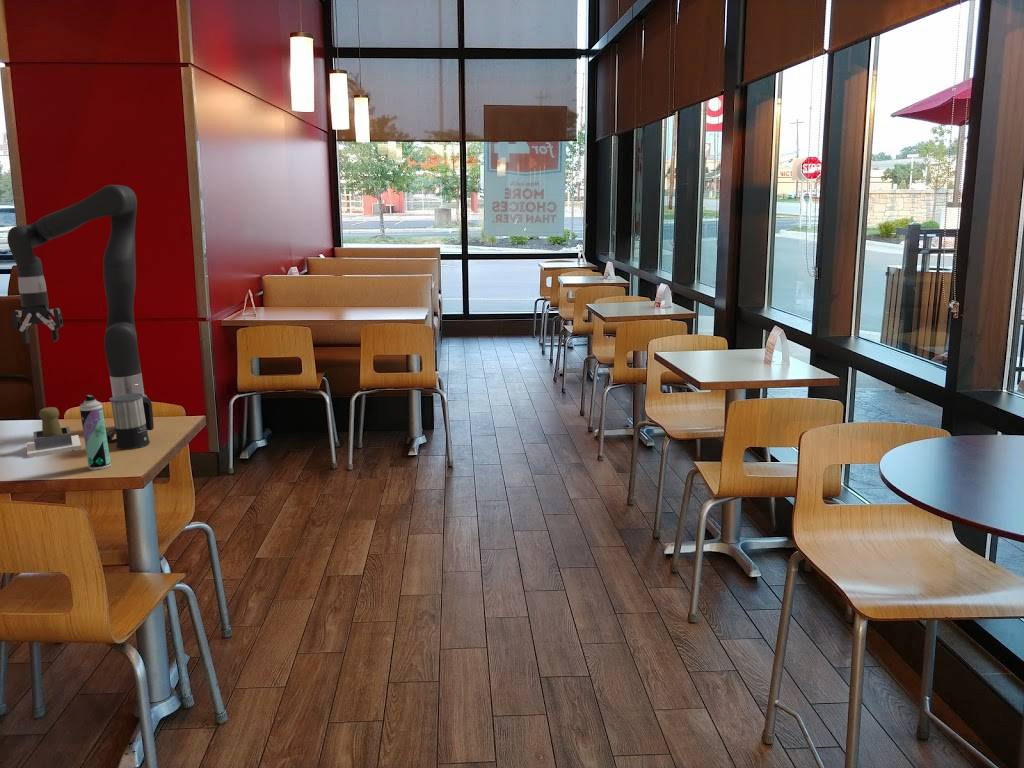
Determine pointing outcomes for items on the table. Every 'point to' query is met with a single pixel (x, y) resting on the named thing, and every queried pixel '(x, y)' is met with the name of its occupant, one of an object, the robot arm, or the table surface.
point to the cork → (50, 421)
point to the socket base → (32, 451)
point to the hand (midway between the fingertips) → (41, 342)
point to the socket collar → (52, 439)
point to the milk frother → (131, 421)
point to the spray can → (94, 434)
